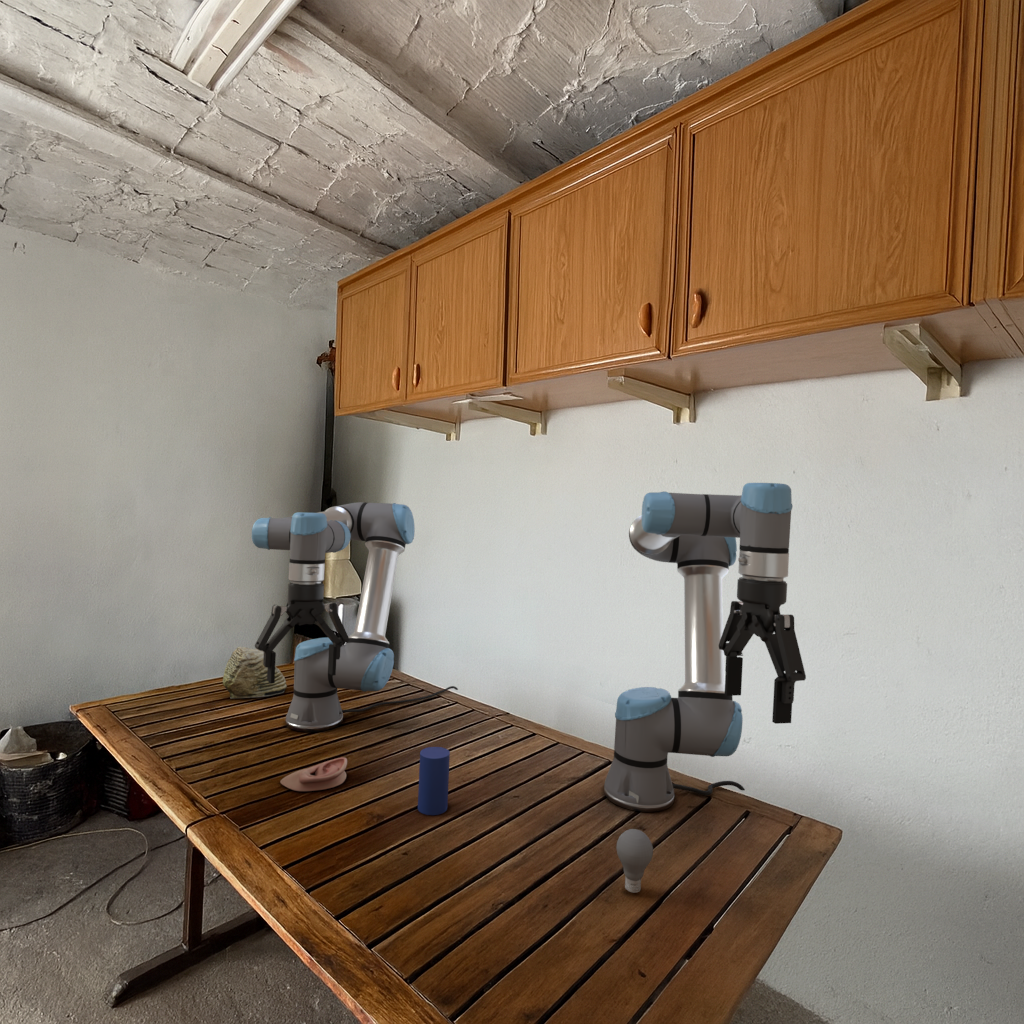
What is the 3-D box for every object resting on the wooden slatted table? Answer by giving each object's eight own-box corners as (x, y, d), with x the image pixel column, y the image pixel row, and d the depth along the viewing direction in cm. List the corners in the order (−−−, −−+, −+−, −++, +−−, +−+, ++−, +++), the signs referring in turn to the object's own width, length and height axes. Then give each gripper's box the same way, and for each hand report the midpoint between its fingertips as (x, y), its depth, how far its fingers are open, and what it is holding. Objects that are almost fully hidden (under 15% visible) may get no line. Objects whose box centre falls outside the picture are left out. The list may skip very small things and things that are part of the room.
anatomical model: (273, 769, 136) (301, 749, 148) (272, 787, 136) (300, 766, 148) (329, 777, 134) (353, 756, 145) (329, 796, 134) (353, 773, 145)
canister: (425, 798, 135) (428, 744, 135) (452, 804, 133) (454, 749, 133) (412, 811, 129) (414, 755, 129) (439, 817, 127) (442, 760, 127)
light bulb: (610, 879, 108) (613, 822, 108) (644, 879, 109) (647, 822, 109) (619, 902, 102) (622, 840, 102) (655, 901, 103) (658, 840, 103)
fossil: (218, 695, 195) (220, 647, 195) (278, 685, 208) (279, 640, 207) (228, 703, 189) (230, 653, 188) (289, 692, 201) (290, 645, 201)
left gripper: (252, 586, 129) (248, 689, 130) (366, 582, 145) (361, 674, 145) (242, 582, 135) (238, 681, 135) (352, 578, 151) (348, 667, 151)
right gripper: (702, 568, 114) (696, 685, 115) (790, 588, 90) (783, 737, 90) (740, 569, 116) (734, 684, 116) (836, 589, 91) (829, 735, 92)
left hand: (302, 678), depth 140 cm, fingers open, 13 cm apart
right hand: (755, 708), depth 103 cm, fingers open, 13 cm apart
